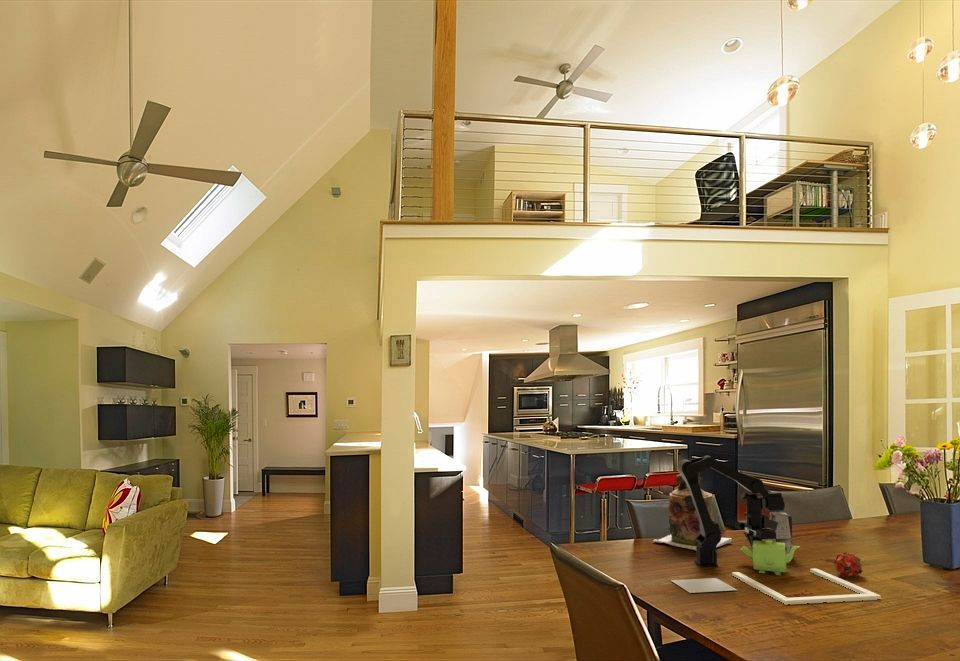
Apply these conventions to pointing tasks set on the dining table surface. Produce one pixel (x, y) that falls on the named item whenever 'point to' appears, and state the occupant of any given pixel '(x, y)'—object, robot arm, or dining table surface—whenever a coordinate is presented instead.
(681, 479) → the cookie jar
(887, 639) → the dining table surface
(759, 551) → the kettle
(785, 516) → the coffee box
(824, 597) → the kettle dock outline
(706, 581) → the paper stack
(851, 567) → the dragon fruit
